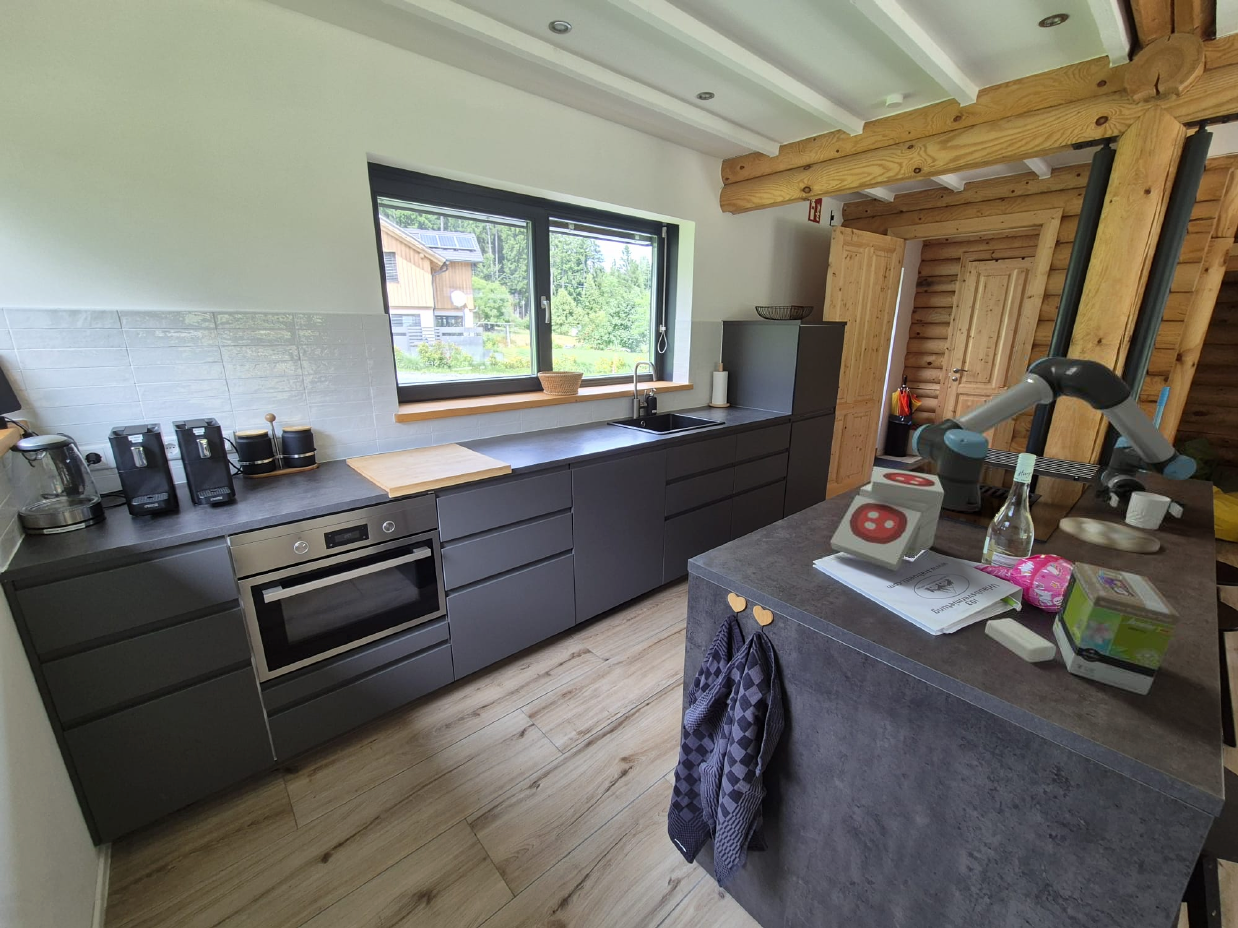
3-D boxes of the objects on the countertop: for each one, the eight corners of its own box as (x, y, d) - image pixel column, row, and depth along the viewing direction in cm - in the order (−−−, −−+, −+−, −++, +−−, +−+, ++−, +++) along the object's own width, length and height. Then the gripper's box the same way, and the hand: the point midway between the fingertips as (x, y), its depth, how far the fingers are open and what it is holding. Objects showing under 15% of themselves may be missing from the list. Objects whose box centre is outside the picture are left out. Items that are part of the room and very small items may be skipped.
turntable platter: (1065, 539, 134) (1067, 533, 134) (1054, 516, 150) (1055, 511, 150) (1170, 560, 124) (1172, 554, 123) (1145, 533, 140) (1147, 528, 139)
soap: (1054, 661, 86) (1059, 646, 85) (1028, 664, 85) (1033, 649, 84) (1006, 630, 95) (1010, 616, 94) (982, 632, 93) (986, 618, 93)
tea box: (1149, 698, 78) (1183, 615, 74) (1066, 673, 83) (1093, 594, 79) (1121, 647, 90) (1148, 574, 86) (1050, 628, 95) (1073, 558, 91)
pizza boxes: (820, 553, 123) (831, 484, 118) (869, 523, 143) (880, 463, 138) (903, 584, 110) (920, 507, 104) (945, 546, 129) (961, 480, 124)
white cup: (1142, 523, 150) (1153, 492, 147) (1167, 534, 143) (1179, 501, 140) (1114, 521, 151) (1124, 490, 148) (1137, 532, 143) (1149, 499, 141)
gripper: (1176, 508, 159) (1203, 530, 141) (1073, 491, 171) (1087, 509, 154) (1184, 486, 156) (1213, 505, 139) (1080, 471, 169) (1094, 487, 152)
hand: (1147, 507), depth 147 cm, fingers open, 13 cm apart
